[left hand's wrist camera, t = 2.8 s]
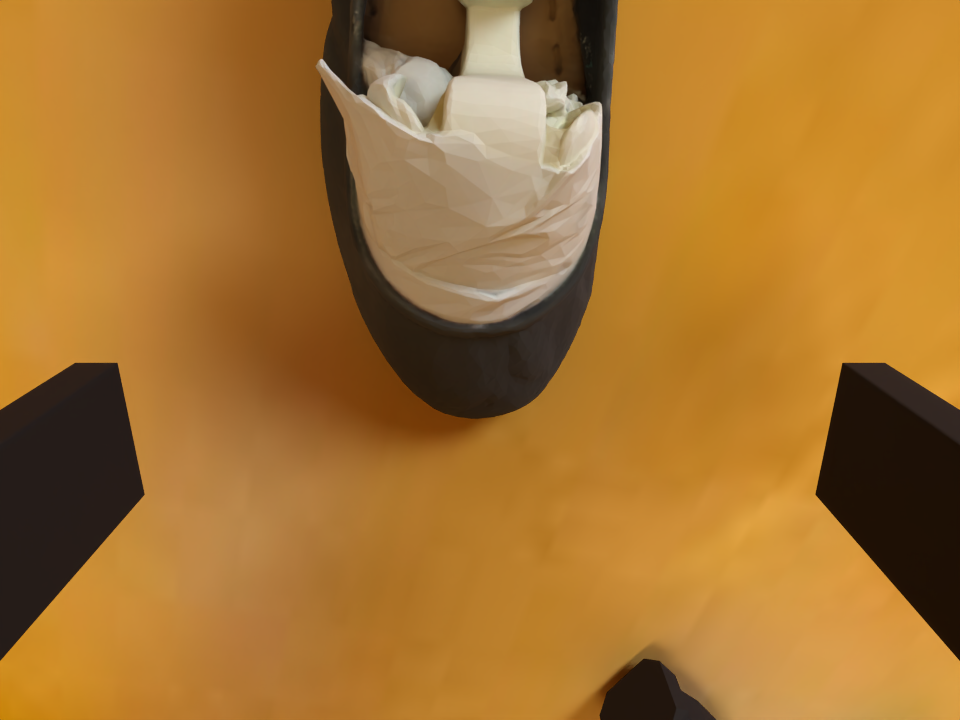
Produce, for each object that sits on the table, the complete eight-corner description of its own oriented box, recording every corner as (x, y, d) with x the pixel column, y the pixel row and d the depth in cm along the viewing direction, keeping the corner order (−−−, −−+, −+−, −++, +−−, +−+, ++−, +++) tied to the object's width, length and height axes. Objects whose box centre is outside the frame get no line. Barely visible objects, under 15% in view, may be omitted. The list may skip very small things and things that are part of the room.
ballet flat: (354, 401, 24) (300, 538, 16) (288, -537, 16) (111, -1169, 8) (580, 400, 24) (632, 535, 16) (635, -532, 16) (794, -1150, 8)
